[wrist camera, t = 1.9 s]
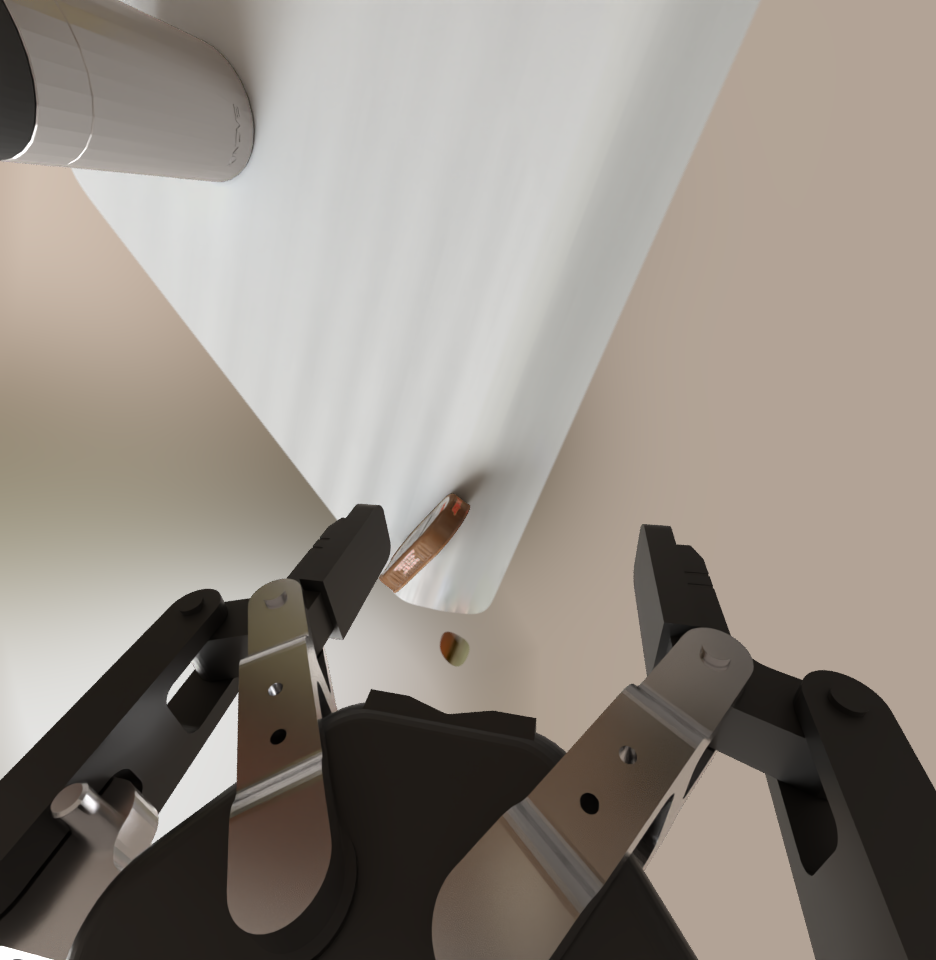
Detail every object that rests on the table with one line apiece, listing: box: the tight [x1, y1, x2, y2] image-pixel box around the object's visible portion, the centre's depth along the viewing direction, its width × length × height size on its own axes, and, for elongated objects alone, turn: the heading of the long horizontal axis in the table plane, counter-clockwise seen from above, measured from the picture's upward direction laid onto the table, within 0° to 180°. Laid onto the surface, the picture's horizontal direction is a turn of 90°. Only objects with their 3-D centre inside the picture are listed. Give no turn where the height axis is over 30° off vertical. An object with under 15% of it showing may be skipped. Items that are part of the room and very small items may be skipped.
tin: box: [379, 493, 470, 593], centre depth 49 cm, size 15×3×8 cm, turn 143°
